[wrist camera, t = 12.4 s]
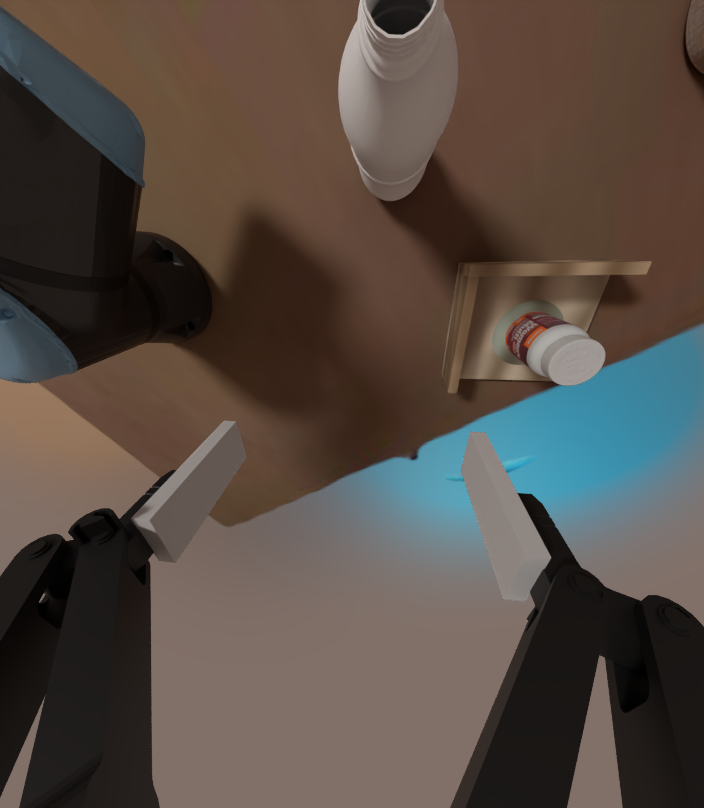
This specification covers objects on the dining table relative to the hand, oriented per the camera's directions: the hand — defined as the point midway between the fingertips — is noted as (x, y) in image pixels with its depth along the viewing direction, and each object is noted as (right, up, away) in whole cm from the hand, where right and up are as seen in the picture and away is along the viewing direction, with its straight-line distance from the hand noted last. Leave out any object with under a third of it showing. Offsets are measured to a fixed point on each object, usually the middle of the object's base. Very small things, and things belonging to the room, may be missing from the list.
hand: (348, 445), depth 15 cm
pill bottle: (+25, +12, +22) cm, 35 cm away
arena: (+23, +13, +22) cm, 35 cm away
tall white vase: (+5, +30, +16) cm, 34 cm away
